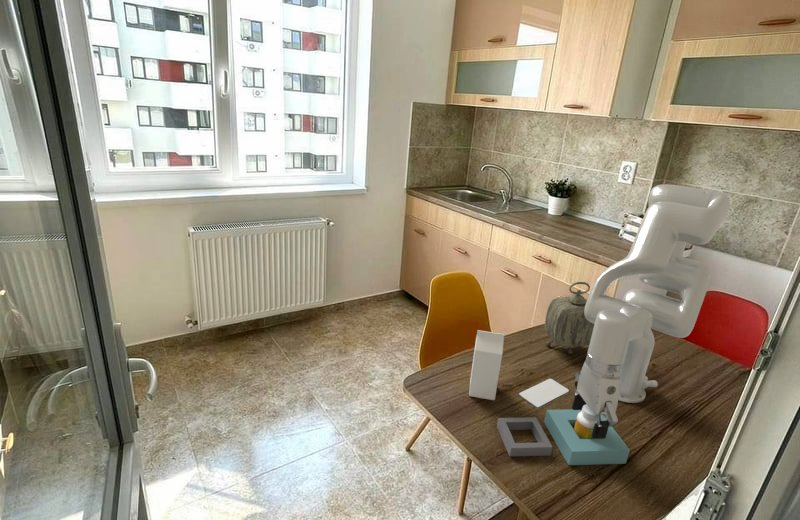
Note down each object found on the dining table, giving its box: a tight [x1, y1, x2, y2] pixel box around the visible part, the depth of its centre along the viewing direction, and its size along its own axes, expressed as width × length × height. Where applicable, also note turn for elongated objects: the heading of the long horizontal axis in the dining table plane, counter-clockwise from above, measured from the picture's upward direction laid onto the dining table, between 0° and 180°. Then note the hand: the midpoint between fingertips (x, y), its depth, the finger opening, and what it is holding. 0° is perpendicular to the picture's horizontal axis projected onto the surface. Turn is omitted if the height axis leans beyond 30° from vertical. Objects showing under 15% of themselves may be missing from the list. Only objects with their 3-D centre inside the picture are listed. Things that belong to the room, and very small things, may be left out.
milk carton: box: [468, 329, 505, 401], centre depth 120 cm, size 7×7×19 cm
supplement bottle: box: [574, 404, 597, 439], centre depth 105 cm, size 5×5×10 cm
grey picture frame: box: [496, 416, 553, 457], centre depth 106 cm, size 10×10×2 cm
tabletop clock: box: [544, 281, 594, 355], centre depth 142 cm, size 14×9×25 cm, turn 98°
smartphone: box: [517, 378, 570, 409], centre depth 125 cm, size 7×1×15 cm
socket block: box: [543, 408, 631, 466], centre depth 106 cm, size 14×14×4 cm
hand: (587, 422), depth 105 cm, fingers open, 9 cm apart
